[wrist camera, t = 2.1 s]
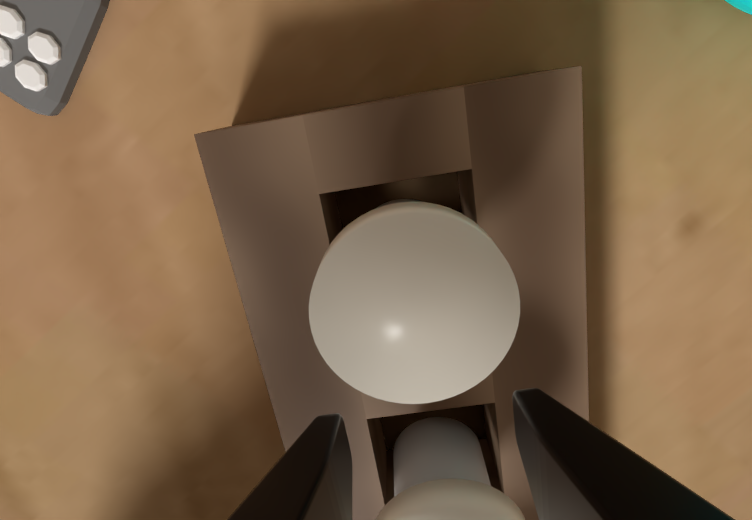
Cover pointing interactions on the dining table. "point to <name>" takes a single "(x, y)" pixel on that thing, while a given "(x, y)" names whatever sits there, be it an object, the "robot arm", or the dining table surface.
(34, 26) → the key chain
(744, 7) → the donuts
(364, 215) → the knob
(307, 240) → the mount
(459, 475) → the knob middle
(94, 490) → the dining table surface
